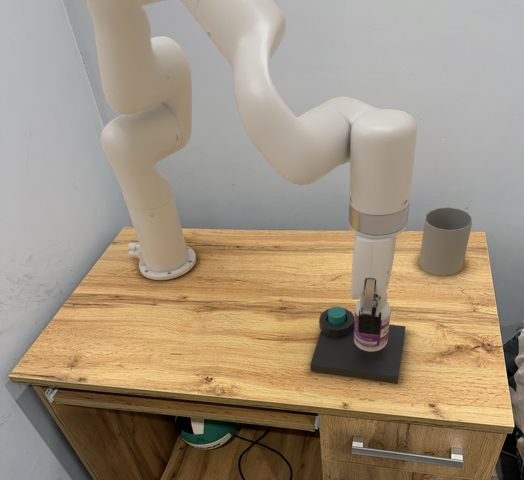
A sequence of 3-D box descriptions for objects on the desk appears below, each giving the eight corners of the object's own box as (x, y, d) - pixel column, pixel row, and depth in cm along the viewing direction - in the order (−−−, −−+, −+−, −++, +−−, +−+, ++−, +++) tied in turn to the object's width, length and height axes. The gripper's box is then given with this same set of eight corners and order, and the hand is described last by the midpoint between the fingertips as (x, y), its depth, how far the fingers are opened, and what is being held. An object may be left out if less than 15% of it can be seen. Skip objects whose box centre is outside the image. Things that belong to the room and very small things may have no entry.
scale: (308, 371, 82) (307, 356, 80) (323, 320, 91) (323, 305, 89) (397, 383, 78) (399, 368, 76) (405, 329, 87) (407, 314, 85)
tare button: (326, 324, 86) (326, 316, 84) (329, 313, 88) (329, 305, 86) (343, 326, 85) (344, 318, 84) (347, 315, 87) (347, 307, 86)
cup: (450, 280, 96) (459, 235, 89) (411, 267, 100) (417, 223, 93) (470, 259, 100) (479, 214, 93) (431, 247, 104) (438, 203, 97)
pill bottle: (387, 354, 78) (391, 306, 72) (352, 351, 79) (354, 304, 73) (388, 331, 82) (392, 283, 75) (355, 329, 83) (356, 282, 76)
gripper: (359, 182, 72) (356, 284, 84) (337, 248, 60) (337, 354, 73) (413, 184, 70) (401, 288, 82) (401, 252, 58) (390, 361, 71)
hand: (371, 318), depth 77 cm, fingers closed on pill bottle, 5 cm apart
